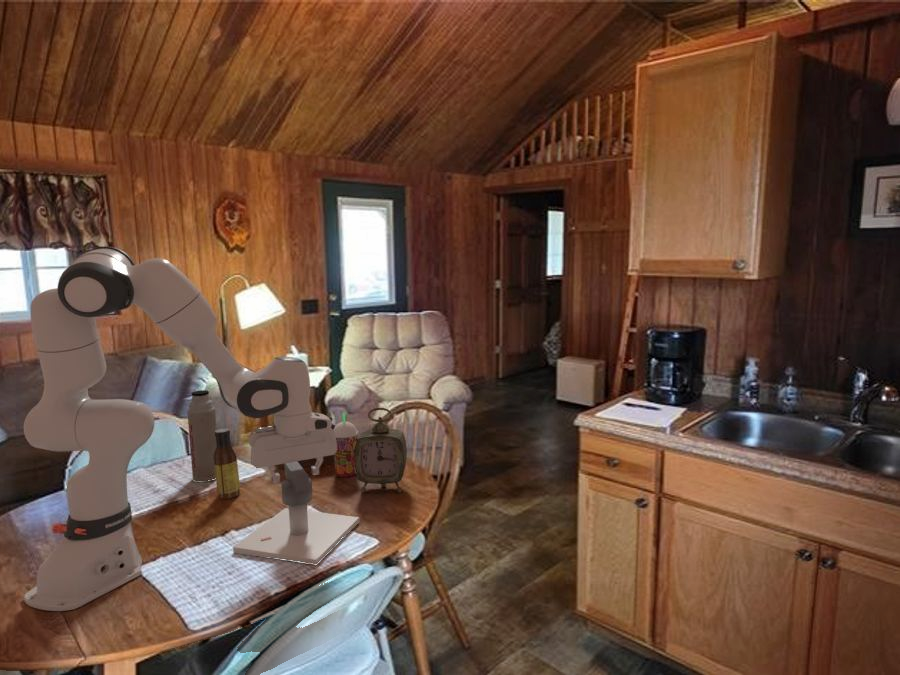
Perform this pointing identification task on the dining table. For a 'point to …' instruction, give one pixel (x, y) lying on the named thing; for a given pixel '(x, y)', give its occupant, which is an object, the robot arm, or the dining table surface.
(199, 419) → the thermos bottle
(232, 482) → the sauce bottle
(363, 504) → the dining table surface
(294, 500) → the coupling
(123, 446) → the robot arm
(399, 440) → the tabletop clock
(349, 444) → the smoothie
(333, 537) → the base
